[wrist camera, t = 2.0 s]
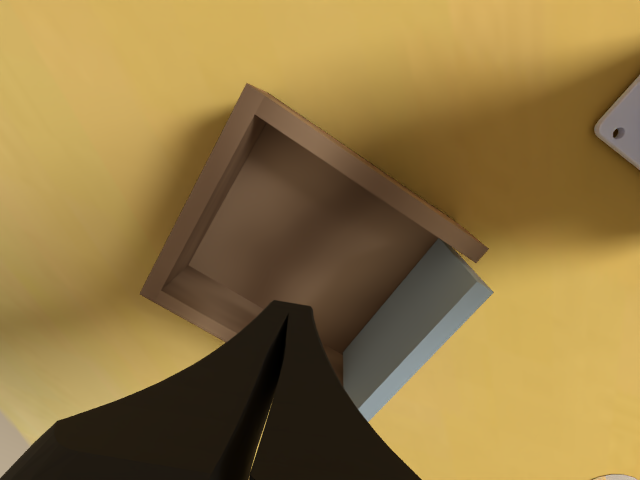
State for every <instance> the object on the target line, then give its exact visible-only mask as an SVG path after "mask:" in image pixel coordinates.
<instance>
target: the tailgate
mask: <svg viewBox="0 0 640 480" xmlns="http://www.w3.org/2000/svg"><path fill="white" fill-rule="evenodd" d="M493 293H494V292H493V291H492V290H491V289H490V288H489V287H488V286H487V285H486V284H485V282H484V281H483V280H482V279H481V278H480V277H479V276H478V275H477V274H476V273H475V272H474V271H473V269H472V268H471V267H470V266H469V265H468V264H467V263H466V262H465V261H464V260H463V259H462V258H461V256H460V255H459V254H458V253H457V252H456V251H455V250H454V249H453V248H452V247H451V246H450V245H448V244H447V243H446V242H444V241H443V240H441V239H440V238H438V239H437V241H436V242H435V243H434V244H433V245H432V247H431V248H430V249H429V250H428V251H427V253H426V254H425V255H424V256H423V257H422V259H421V260H420V261H419V262H418V263H417V265H416V266H415V267H414V268H413V269H412V271H411V272H410V273H409V274H408V275H407V276H406V278H405V279H404V280H403V281H402V282H401V284H400V285H399V286H398V287H397V288H396V290H395V291H394V292H393V293H392V294H391V296H390V297H389V298H388V299H387V300H386V302H385V303H384V304H383V305H382V306H381V308H380V309H379V310H378V311H377V312H376V314H375V315H374V316H373V317H372V318H371V319H370V321H369V322H368V323H367V324H366V325H365V327H364V328H363V329H362V330H361V331H360V333H359V334H358V335H357V336H356V337H355V339H354V340H353V341H352V342H351V343H350V345H349V346H348V347H347V348H346V349H345V351H344V352H343V387H344V389H345V391H346V392H347V394H348V395H349V397H350V398H351V400H352V401H353V403H354V404H355V406H356V407H357V408H358V410H359V411H360V412H361V414H362V415H363V416H364V418H365V419H366V420H367V422H369V421H370V420H371V419H372V417H373V416H374V415H375V414H376V413H377V412H378V411H379V410H380V409H381V408H382V407H383V406H384V405H385V404H386V403H387V402H388V401H389V400H390V399H391V398H392V397H393V396H394V395H395V394H396V393H397V392H398V391H399V390H400V389H401V388H402V387H403V385H404V384H405V383H406V382H407V381H408V380H409V379H410V378H411V377H412V376H413V375H414V374H415V373H416V372H417V371H418V370H419V369H420V368H421V367H422V366H423V365H424V364H425V363H426V362H427V361H428V360H429V359H430V358H431V357H432V356H433V354H434V353H435V352H436V351H437V350H438V349H439V348H440V347H441V346H442V345H443V344H444V343H445V342H446V341H447V340H448V339H449V338H450V337H451V336H452V335H453V334H454V333H455V332H456V331H457V330H458V329H459V328H460V327H461V326H462V325H463V323H464V322H465V321H466V320H467V319H468V318H469V317H470V316H471V315H472V314H473V313H474V312H475V311H476V310H477V309H478V308H479V307H480V306H481V305H482V304H483V303H484V302H485V301H486V300H487V299H488V298H489V297H490V296H491V295H492V294H493Z"/></svg>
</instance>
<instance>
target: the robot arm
mask: <svg viewBox="0 0 640 480" xmlns="http://www.w3.org/2000/svg"><path fill="white" fill-rule="evenodd" d="M616 129H618V134H617V136H616V137H615V138H614V137H613V132H614V131H615V130H616ZM594 131H595V134H596V136H597V137H598V138H600V139H601V140H602V141H604V142H605V143H606V144H607V145H609V146H610V147H611V148H612V149H614V150H615V151H616V152H617V153H619V154H620V155H621V156H622V157H624V158H625V159H626V160H628V161H629V162H630V163H631V164H633V165H634V166H635V167H636V168H638V169H639V170H640V75H639V76H638V77H637V78H636V80H635V81H634V82H633V83H632V84H631V85H630V86H629V87H628V88H627V90H626V91H625V92H624V93H623V94H622V95H621V96H620V97H619V98H618V99H617V101H616V102H615V103H614V104H613V105H612V106H611V107H610V108H609V109H608V111H607V112H606V113H605V114H604V115H603V116H602V117H601V118H600V119H599V121H598V122H597V123H596V125H595V128H594ZM271 404H272V405H271ZM270 407H271V408H270ZM269 410H270V411H269ZM268 413H269V415H268ZM267 416H268V418H267ZM266 419H267V422H266ZM265 422H266V425H265ZM264 425H265V428H264ZM263 428H264V432H263V435H262V438H261V441H260V444H259V447H258V450H257V454H256V457H255V460H254V456H255V453H256V449H257V446H258V443H259V440H260V437H261V434H262V431H263ZM253 460H254V463H253ZM252 463H253V466H252ZM251 467H252V469H251ZM250 471H251V472H250ZM249 475H250V477H249ZM248 479H249V480H421V479H420V478H419V477H418V476H417V475H416V474H415V473H414V472H413V471H412V470H411V469H410V468H409V467H408V466H407V465H406V464H405V463H404V462H403V461H402V460H401V459H400V458H399V457H398V456H397V455H396V454H395V453H394V452H393V451H392V450H391V449H390V448H389V447H388V446H387V444H386V443H385V442H384V441H383V440H382V439H381V438H380V436H379V435H378V434H377V433H376V432H375V431H374V429H373V428H372V427H371V426H370V424H369V423H368V422H367V420H366V419H365V418H364V416H363V415H362V414H361V412H360V411H359V410H358V408H357V407H356V406H355V404H354V403H353V401H352V400H351V398H350V397H349V395H348V394H347V392H346V391H345V389H344V387H343V386H342V384H341V382H340V380H339V379H338V377H337V375H336V373H335V371H334V369H333V367H332V365H331V363H330V361H329V359H328V357H327V355H326V352H325V350H324V348H323V345H322V342H321V340H320V337H319V334H318V331H317V328H316V324H315V320H314V315H313V309H312V307H311V306H307V305H301V304H296V303H290V302H284V301H278V300H273V301H272V302H270V303H269V305H268V306H267V307H266V308H265V309H264V310H263V311H262V312H261V313H260V314H259V315H258V316H257V317H256V318H255V319H254V320H252V321H251V322H250V323H249V324H248V325H247V326H246V327H245V328H243V329H242V330H241V331H240V332H239V333H238V334H236V335H235V336H234V337H232V338H231V339H230V340H229V341H227V342H226V343H225V344H223V345H222V346H221V347H219V348H218V349H216V350H215V351H214V352H212V353H211V354H209V355H208V356H206V357H205V358H203V359H201V360H200V361H198V362H197V363H195V364H193V365H192V366H190V367H188V368H186V369H184V370H182V371H180V372H178V373H177V374H175V375H173V376H171V377H169V378H167V379H165V380H163V381H161V382H159V383H157V384H155V385H152V386H150V387H148V388H146V389H144V390H141V391H139V392H136V393H134V394H132V395H129V396H127V397H124V398H122V399H119V400H117V401H114V402H111V403H109V404H106V405H103V406H100V407H97V408H94V409H91V410H89V411H86V412H83V413H80V414H77V415H74V416H71V417H68V418H65V419H62V420H59V421H57V422H56V423H55V424H54V425H53V426H52V427H51V428H49V429H48V430H47V431H46V432H45V433H44V434H43V435H42V436H41V437H40V438H39V439H38V440H36V441H35V442H34V443H33V444H32V446H31V447H30V448H29V449H28V450H27V451H26V452H25V453H24V454H23V455H22V456H21V457H20V458H19V459H18V460H17V461H16V462H15V463H14V464H13V466H11V468H10V469H9V470H8V471H7V472H6V473H5V474H4V475H3V476H2V477H1V478H0V480H248Z"/></svg>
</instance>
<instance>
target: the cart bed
mask: <svg viewBox="0 0 640 480" xmlns="http://www.w3.org/2000/svg"><path fill="white" fill-rule="evenodd" d="M438 238H440V239H441V240H443V241H444V242H446V243H447V244H448V245H450V246H451V247H453V248H454V249H456V250H457V251H459V252H460V253H462V254H463V255H465V256H466V257H468V258H469V259H471V260H472V261H474V262H475V263H477V261H478V260H479V259H480V258H481V257H482V256H483V255H484V254H485V253H486V252H487V250H488V248H487V247H486V246H485V245H484V244H482V243H481V242H480V241H479V240H478V239H476V238H475V237H474V236H473V235H471V234H470V233H469V232H468V231H467V230H465V229H464V228H463V227H462V226H461V225H459V224H458V223H457V222H455V221H454V220H452V219H451V218H450V217H448V216H447V215H445V214H444V213H442V212H441V211H439V210H438V209H436V208H435V207H434V206H432V205H431V204H429V203H428V202H426V201H425V200H423V199H422V198H420V197H419V196H418V195H416V194H415V193H413V192H412V191H410V190H409V189H407V188H406V187H404V186H403V185H402V184H400V183H399V182H397V181H396V180H394V179H393V178H391V177H390V176H388V175H387V174H386V173H384V172H383V171H381V170H380V169H378V168H377V167H375V166H374V165H372V164H371V163H370V162H368V161H367V160H365V159H364V158H362V157H361V156H359V155H358V154H356V153H355V152H353V151H352V150H351V149H349V148H348V147H346V146H345V145H343V144H342V143H340V142H339V141H337V140H336V139H335V138H333V137H332V136H330V135H329V134H327V133H326V132H324V131H323V130H321V129H320V128H319V127H317V126H316V125H314V124H313V123H311V122H310V121H308V120H307V119H305V118H304V117H303V116H301V115H300V114H298V113H297V112H295V111H294V110H292V109H291V108H289V107H288V106H287V105H285V104H284V103H282V102H281V101H279V100H278V99H276V98H275V97H273V96H272V95H271V94H269V93H267V92H265V91H263V90H261V89H258V88H256V87H254V86H252V85H250V84H248V83H247V84H246V86H245V88H244V89H243V91H242V93H241V95H240V97H239V99H238V101H237V103H236V105H235V107H234V109H233V111H232V113H231V115H230V117H229V119H228V121H227V123H226V125H225V127H224V129H223V131H222V133H221V135H220V137H219V139H218V141H217V143H216V145H215V146H214V148H213V150H212V152H211V154H210V156H209V158H208V160H207V162H206V164H205V166H204V168H203V170H202V172H201V174H200V176H199V178H198V180H197V182H196V184H195V186H194V188H193V190H192V192H191V194H190V196H189V198H188V200H187V202H186V204H185V205H184V207H183V209H182V211H181V213H180V215H179V217H178V219H177V221H176V223H175V225H174V227H173V229H172V231H171V233H170V235H169V237H168V239H167V241H166V243H165V245H164V247H163V249H162V251H161V253H160V255H159V257H158V259H157V261H156V262H155V264H154V266H153V268H152V270H151V272H150V274H149V276H148V278H147V280H146V282H145V284H144V286H143V288H142V290H141V292H140V295H142V296H144V297H145V298H147V299H149V300H151V301H153V302H154V303H156V304H158V305H160V306H162V307H163V308H165V309H167V310H169V311H171V312H172V313H174V314H176V315H178V316H180V317H181V318H183V319H185V320H187V321H189V322H190V323H192V324H194V325H196V326H198V327H199V328H201V329H203V330H205V331H207V332H208V333H210V334H212V335H214V336H216V337H217V338H219V339H221V340H223V341H225V342H227V341H229V340H230V339H231V338H232V337H234V336H235V335H236V334H238V333H239V332H240V331H241V330H242V329H243V328H245V327H246V326H247V325H248V324H249V323H250V322H251V321H252V320H254V319H255V318H256V317H257V316H258V315H259V314H260V313H261V312H262V311H263V310H264V309H265V308H266V307H267V306H268V305H269V303H270V302H272V301H273V300H278V301H284V302H290V303H296V304H301V305H307V306H311V307H312V309H313V315H314V320H315V324H316V328H317V331H318V334H319V337H320V340H321V342H322V345H323V348H324V350H325V352H326V355H327V357H328V359H329V361H330V363H331V365H332V367H333V369H334V371H335V373H336V375H337V377H338V379H339V380H340V382H341V384H342V386H343V352H344V351H345V349H346V348H347V347H348V346H349V345H350V343H351V342H352V341H353V340H354V339H355V337H356V336H357V335H358V334H359V333H360V331H361V330H362V329H363V328H364V327H365V325H366V324H367V323H368V322H369V321H370V319H371V318H372V317H373V316H374V315H375V314H376V312H377V311H378V310H379V309H380V308H381V306H382V305H383V304H384V303H385V302H386V300H387V299H388V298H389V297H390V296H391V294H392V293H393V292H394V291H395V290H396V288H397V287H398V286H399V285H400V284H401V282H402V281H403V280H404V279H405V278H406V276H407V275H408V274H409V273H410V272H411V271H412V269H413V268H414V267H415V266H416V265H417V263H418V262H419V261H420V260H421V259H422V257H423V256H424V255H425V254H426V253H427V251H428V250H429V249H430V248H431V247H432V245H433V244H434V243H435V242H436V241H437V239H438Z"/></svg>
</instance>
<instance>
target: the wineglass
mask: <svg viewBox="0 0 640 480" xmlns="http://www.w3.org/2000/svg"><path fill="white" fill-rule="evenodd" d="M593 480H637V479H636V478H634V477H630V476H626V475H607V476H602V477H598V478H596V479H593Z"/></svg>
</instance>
